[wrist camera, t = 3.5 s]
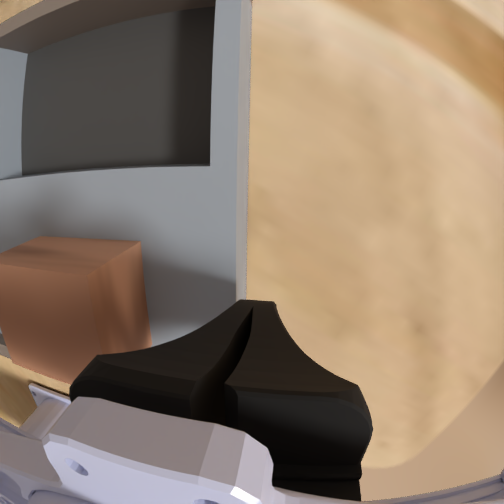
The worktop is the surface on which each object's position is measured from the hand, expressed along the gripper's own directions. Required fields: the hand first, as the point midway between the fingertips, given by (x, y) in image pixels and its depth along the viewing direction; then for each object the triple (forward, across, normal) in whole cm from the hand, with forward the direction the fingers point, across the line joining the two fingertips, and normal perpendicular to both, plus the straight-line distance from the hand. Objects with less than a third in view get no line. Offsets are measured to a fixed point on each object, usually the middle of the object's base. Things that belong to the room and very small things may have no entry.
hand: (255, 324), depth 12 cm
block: (+1, +8, 0) cm, 8 cm away
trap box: (+4, +16, -4) cm, 17 cm away
